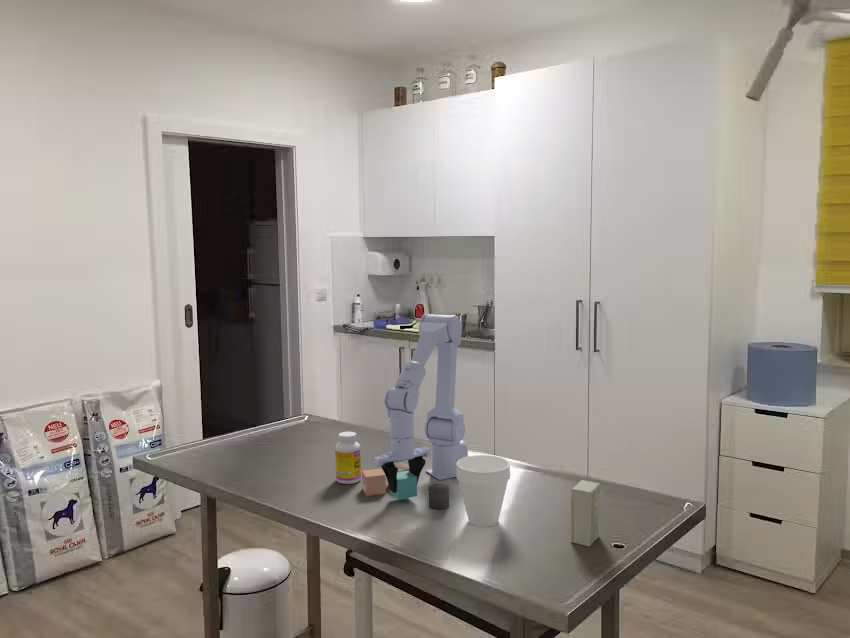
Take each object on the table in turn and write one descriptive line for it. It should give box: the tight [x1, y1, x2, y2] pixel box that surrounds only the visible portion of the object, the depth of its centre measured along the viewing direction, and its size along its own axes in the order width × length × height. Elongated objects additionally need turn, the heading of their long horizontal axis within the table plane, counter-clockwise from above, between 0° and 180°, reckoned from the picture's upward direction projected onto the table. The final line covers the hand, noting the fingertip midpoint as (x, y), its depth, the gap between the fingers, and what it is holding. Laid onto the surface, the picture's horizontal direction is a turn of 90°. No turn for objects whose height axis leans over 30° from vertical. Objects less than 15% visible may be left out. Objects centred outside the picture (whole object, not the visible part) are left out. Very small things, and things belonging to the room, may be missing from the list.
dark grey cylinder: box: [427, 482, 450, 511], centre depth 175 cm, size 5×5×5 cm
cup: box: [455, 454, 511, 528], centre depth 165 cm, size 12×12×14 cm
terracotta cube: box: [361, 468, 387, 497], centre depth 185 cm, size 5×5×5 cm
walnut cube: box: [387, 462, 410, 486], centre depth 189 cm, size 5×5×5 cm
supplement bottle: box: [334, 431, 362, 485], centre depth 193 cm, size 7×7×13 cm
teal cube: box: [389, 471, 418, 501], centre depth 179 cm, size 5×5×5 cm
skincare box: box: [570, 479, 601, 547], centre depth 154 cm, size 6×4×12 cm
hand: (403, 489), depth 179 cm, fingers closed on teal cube, 5 cm apart
